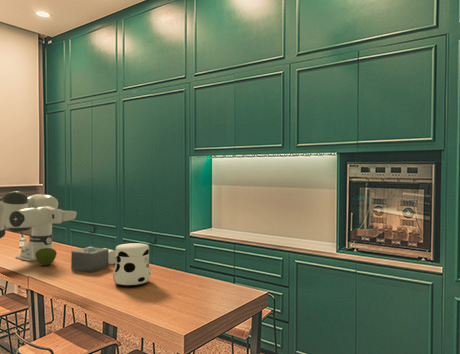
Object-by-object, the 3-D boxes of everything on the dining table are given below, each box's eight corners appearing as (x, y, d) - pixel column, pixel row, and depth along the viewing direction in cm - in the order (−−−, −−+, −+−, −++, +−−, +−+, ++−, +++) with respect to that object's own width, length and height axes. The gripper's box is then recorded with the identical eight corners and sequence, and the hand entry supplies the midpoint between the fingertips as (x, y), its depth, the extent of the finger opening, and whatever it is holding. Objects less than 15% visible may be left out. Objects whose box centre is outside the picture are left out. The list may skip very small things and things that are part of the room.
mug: (106, 265, 207) (106, 251, 207) (97, 262, 214) (97, 249, 214) (124, 262, 216) (124, 248, 216) (115, 259, 223) (115, 246, 223)
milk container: (158, 282, 177) (158, 245, 177) (131, 291, 162) (132, 251, 162) (132, 276, 186) (132, 241, 186) (105, 285, 171) (105, 247, 171)
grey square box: (71, 269, 197) (71, 251, 197) (88, 264, 209) (88, 247, 209) (91, 272, 192) (92, 253, 192) (108, 266, 204) (108, 249, 204)
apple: (30, 266, 202) (30, 248, 202) (45, 262, 212) (46, 245, 212) (46, 268, 199) (46, 250, 199) (60, 263, 209) (60, 246, 209)
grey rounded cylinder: (85, 267, 199) (85, 247, 199) (89, 266, 203) (89, 246, 203) (90, 268, 198) (91, 248, 198) (94, 266, 202) (95, 246, 202)
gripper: (29, 220, 176) (52, 218, 189) (61, 223, 169) (83, 220, 182) (29, 208, 176) (53, 206, 189) (62, 210, 169) (83, 207, 182)
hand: (68, 213), depth 185 cm, fingers open, 8 cm apart
